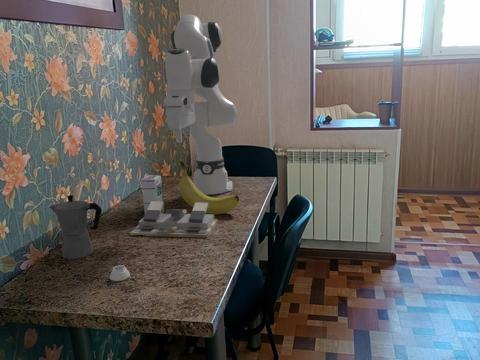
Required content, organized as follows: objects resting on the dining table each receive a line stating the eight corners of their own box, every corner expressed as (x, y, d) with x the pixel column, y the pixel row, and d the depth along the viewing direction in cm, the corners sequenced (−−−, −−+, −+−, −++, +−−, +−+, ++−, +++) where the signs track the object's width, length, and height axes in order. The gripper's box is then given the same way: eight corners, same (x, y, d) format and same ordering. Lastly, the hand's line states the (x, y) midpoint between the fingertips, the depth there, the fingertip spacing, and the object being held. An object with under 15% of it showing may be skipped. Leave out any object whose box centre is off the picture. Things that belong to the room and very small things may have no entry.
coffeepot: (48, 259, 126) (39, 200, 122) (64, 246, 135) (56, 191, 131) (100, 259, 125) (92, 199, 120) (112, 246, 134) (105, 190, 129)
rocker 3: (196, 208, 151) (195, 202, 150) (208, 208, 151) (207, 202, 149) (190, 224, 144) (189, 219, 143) (203, 225, 143) (201, 219, 142)
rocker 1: (152, 206, 154) (151, 201, 153) (164, 206, 153) (163, 201, 152) (144, 224, 147) (143, 218, 146) (157, 224, 146) (155, 219, 145)
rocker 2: (174, 216, 153) (174, 209, 153) (186, 216, 152) (186, 209, 152) (165, 217, 144) (165, 209, 144) (178, 217, 143) (178, 209, 143)
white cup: (131, 273, 116) (112, 274, 116) (130, 262, 115) (111, 264, 115) (128, 281, 111) (108, 283, 111) (127, 271, 110) (107, 272, 110)
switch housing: (149, 218, 155) (148, 213, 155) (214, 219, 151) (213, 214, 151) (139, 227, 147) (138, 221, 146) (207, 229, 143) (207, 223, 142)
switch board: (147, 220, 157) (147, 214, 156) (217, 221, 152) (217, 216, 152) (130, 235, 142) (129, 229, 142) (207, 237, 138) (207, 231, 137)
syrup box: (159, 216, 160) (155, 178, 157) (144, 216, 161) (140, 178, 158) (164, 211, 166) (161, 174, 162) (150, 211, 167) (146, 174, 163)
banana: (241, 211, 162) (239, 159, 157) (238, 216, 156) (235, 162, 152) (184, 210, 167) (180, 159, 162) (178, 214, 161) (174, 162, 157)
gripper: (181, 97, 156) (183, 135, 159) (161, 101, 136) (165, 145, 140) (198, 96, 155) (200, 135, 158) (180, 101, 135) (184, 145, 139)
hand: (183, 139), depth 149 cm, fingers open, 8 cm apart
